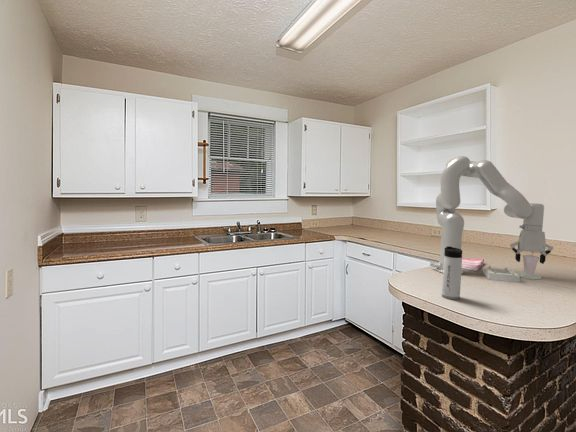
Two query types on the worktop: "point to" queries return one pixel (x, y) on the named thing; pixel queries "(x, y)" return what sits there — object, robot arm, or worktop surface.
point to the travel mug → (452, 273)
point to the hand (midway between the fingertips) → (529, 262)
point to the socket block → (500, 274)
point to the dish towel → (472, 264)
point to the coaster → (529, 276)
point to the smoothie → (530, 264)
